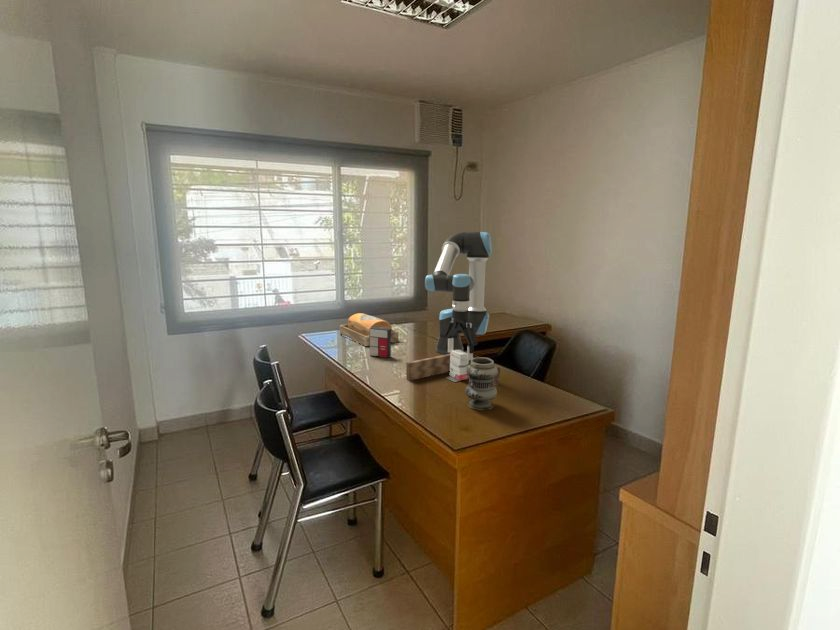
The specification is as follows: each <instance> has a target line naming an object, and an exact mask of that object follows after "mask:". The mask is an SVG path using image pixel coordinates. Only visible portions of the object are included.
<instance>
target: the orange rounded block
mask: <svg viewBox="0 0 840 630" xmlns="http://www.w3.org/2000/svg"><path fill="white" fill-rule="evenodd" d="M347 324H348V328H349V329H351V330H353V331H355V332H358V333H360V334H362V335H365V336H370V332H369V329H370V328H372V327H378V328H388V329H391V332H392V330H393V327H392V324H390V323H389V322H388V321H387V320H384V319H381V318H379V317H376V316H373V315H369V314H366V313H362V312H361V313H360V312H358V313H354V314H353V315H351V316H349V318H348V319H347Z"/></svg>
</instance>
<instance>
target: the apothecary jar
mask: <svg viewBox="0 0 840 630" xmlns="http://www.w3.org/2000/svg"><path fill="white" fill-rule="evenodd" d="M494 365H495V363H494V360H493V359H491V358H489V357H483V356H482V357H481V356H480V357H474V358H473V359H472V360H471V363H470V365H468V366H467V368H466V372H467V374H468V375H469V379H468V384H467V386H465V390H464V391H465V395H466V396H467V397H468V398H470V399H471V400H469V401H468V402H467V406H468V407H469V409H472V410H476V411H486V410H491V409H493V408H494V403H493V402H491V401H492V400H493V399H494V398H495V397H497V395H498V390H497V388H496V386H495V385H494V377H495V376H496V375H497V373H498V370H497V368H496V367H495V366H494Z"/></svg>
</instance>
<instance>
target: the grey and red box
mask: <svg viewBox="0 0 840 630" xmlns="http://www.w3.org/2000/svg"><path fill="white" fill-rule="evenodd" d="M369 332H370V346H369V356H370V355H371V356H370V357H376V356H379V357H378V358H384V357H385V358H384V359H389V358H390V357H392V350H391V349H392V345H391V344H392V343H391V329H388V328H378V327H372V328H370V329H369Z"/></svg>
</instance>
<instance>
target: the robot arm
mask: <svg viewBox="0 0 840 630" xmlns="http://www.w3.org/2000/svg"><path fill="white" fill-rule="evenodd" d="M492 245H493V244H492V238H491V234H490V233H489V232H486V231H485V232H484V231H459V232H455V233H454V234H452V235H450V236H449V237H448V238H446V240H445V241H444V242H443V244H442V246H441V253H440V255H439V256H440V257H439V259H438V260H437V263H436V267H435V268H434V271H433V274H427V275H426V276H425V279H424V287H425V289H426V290H427V291H430V292H442V293H443V292H444V293H445V292H448V293H452V298H451V299H452V305H451V306H452V307H451V308H447V309H443V310H441V311H440V312H439V319H438V324H439V325H438V339H437V343H436V345H435V352H437V353H439V354H441V355H446V354H450V352H451V350H461V351H463V352H464V346H463V342H462V339H461V334H463V336H464V338H465V339H466V343H467V346H466V347H467V349H466V353H467V360H472V359H473V357H474V352H475V346H478V344H479V343H478V340H477V337H476V335H485V334H486V332H487V330H488V326H489V320H490V313H488V312H487V309H486V307H485V306H484V305H485V285H486V284H485V283H486V264H487V263H486V262H487V261H488V260H489V257H490V256H491V255H492V253H493V246H492ZM459 255H466V259H467V260H468V261H469V262H468V274H467V273H456V274H454V275H451V272H452V269H453V266H454V263H455V261H456V258H457V257H458V256H459Z"/></svg>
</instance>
